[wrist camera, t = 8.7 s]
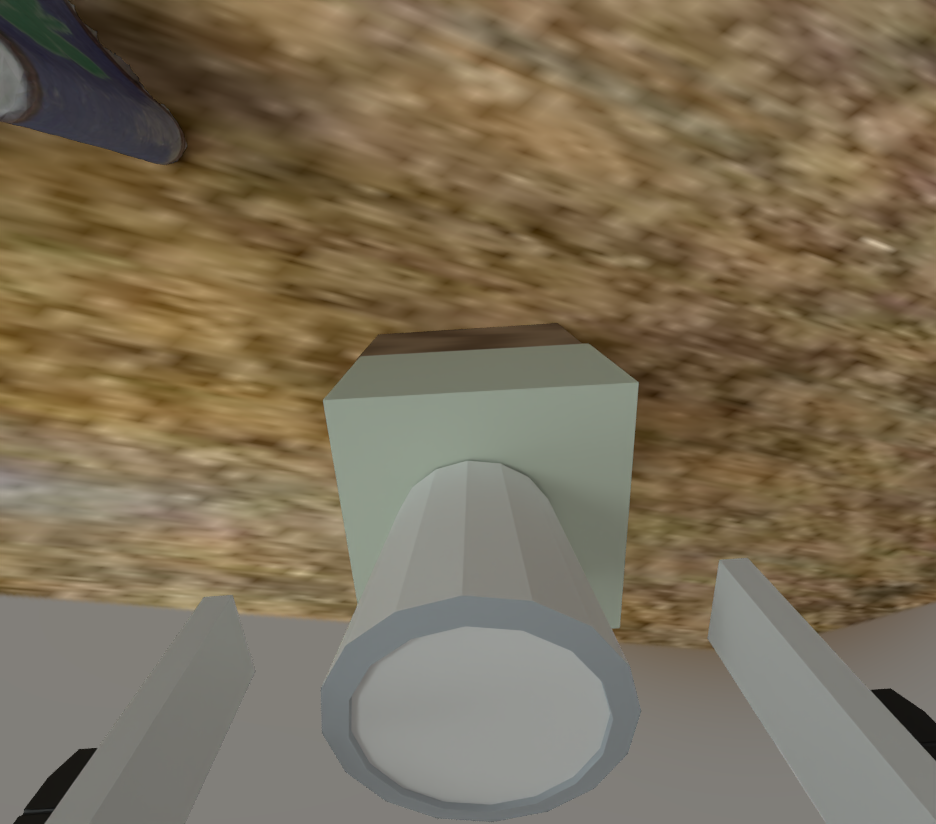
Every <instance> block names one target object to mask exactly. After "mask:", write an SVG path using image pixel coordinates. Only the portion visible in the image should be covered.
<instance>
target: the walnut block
mask: <svg viewBox="0 0 936 824" xmlns="http://www.w3.org/2000/svg"><path fill="white" fill-rule="evenodd" d="M569 344H582V343H581V342H580V341H578V340H577V339H576V338H575V337H574V336H572V335H571V334H570V333H569V332H567V331H566V330H565V329H564V328H563V327H561V326H560V325H559V324H558V323H552V324H537V325H521V326H505V327H490V328H474V329H458V330H442V331H427V332H411V333H395V334H380V335H378V336H377V337H376V338H375V339H374V340H373V341H372V342H371V344H370V345H369V346H368V347H367V348H366V349H365V351H364V352H363V353H362V354H361V355H360V356H374V355H392V354H410V353H427V352H445V351H463V350H481V349H498V348H516V347H534V346H552V345H569ZM360 356H359V357H358V359H359V358H360ZM358 359H357V360H358Z"/></svg>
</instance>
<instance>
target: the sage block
mask: <svg viewBox="0 0 936 824" xmlns="http://www.w3.org/2000/svg"><path fill="white" fill-rule="evenodd" d="M638 386H639V382H638V381H636V380H635V379H634V378H633V377H631V376H630V375H629V374H627V373H626V372H625V371H624V370H622V369H621V368H620V367H618V366H617V365H616V364H615V363H613V362H612V361H611V360H609V359H608V358H607V357H606V356H604V355H603V354H602V353H600V352H599V351H598V350H597V349H595V348H594V347H593V346H591V345H590V344H589V343H587V344H569V345H552V346H534V347H516V348H498V349H481V350H463V351H445V352H427V353H410V354H392V355H374V356H360V358H359V359H358V360H357V361H356V362H355V363H354V365H353V366H352V367H351V368H350V369H349V370H348V372H347V373H346V374H345V375H344V376H343V377H342V379H341V380H340V381H339V382H338V383H337V384H336V386H335V387H334V388H333V389H332V390H331V391H330V393H329V394H328V395H327V396H326V397H325V398H324V400H323V403H324V409H325V415H326V421H327V427H328V433H329V439H330V445H331V450H332V456H333V462H334V468H335V474H336V480H337V486H338V492H339V497H340V503H341V509H342V515H343V521H344V527H345V533H346V539H347V544H348V550H349V556H350V562H351V568H352V574H353V580H354V586H355V591H356V597H357V603H359V600H360V598H361V596H362V594H363V591H364V589H365V587H366V584H367V582H368V580H369V578H370V575H371V573H372V571H373V569H374V566H375V564H376V562H377V559H378V557H379V555H380V553H381V550H382V548H383V546H384V543H385V541H386V539H387V537H388V534H389V532H390V530H391V527H392V525H393V523H394V521H395V518H396V516H397V514H398V512H399V510H400V508H401V506H402V504H403V503H404V501H405V499H406V497H407V495H408V493H409V492H410V490H411V488H412V487H413V486H415V485H416V484H417V483H419V482H420V481H421V480H422V479H424V478H425V477H426V476H428V475H429V474H430V473H432V472H433V471H434V470H436V469H439V468H442V467H446V466H450V465H453V464H457V463H461V462H464V461H478V462H490V463H501V464H503V465H505V466H507V467H509V468H511V469H513V470H515V471H517V472H519V473H521V474H523V475H526V476H528V477H529V478H530V479H531V480H532V481H533V482H534V483H535V485H536V486H537V487H538V488H539V489H540V490H541V491H542V493H543V494H544V495H545V496H546V497H547V498H548V500H549V502H550V504H551V506H552V508H553V510H554V512H555V514H556V516H557V518H558V520H559V522H560V524H561V526H562V528H563V530H564V532H565V534H566V537H567V539H568V541H569V543H570V545H571V547H572V549H573V551H574V553H575V555H576V557H577V559H578V561H579V563H580V565H581V567H582V569H583V571H584V573H585V575H586V578H587V580H588V582H589V584H590V586H591V588H592V590H593V592H594V594H595V596H596V598H597V600H598V602H599V604H600V606H601V608H602V610H603V612H604V614H605V616H606V618H607V621H608V623H609V625H610V627H611V628H620V618H621V605H622V592H623V579H624V566H625V553H626V541H627V528H628V515H629V502H630V489H631V476H632V463H633V450H634V438H635V425H636V412H637V399H638Z"/></svg>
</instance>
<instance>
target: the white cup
mask: <svg viewBox="0 0 936 824" xmlns="http://www.w3.org/2000/svg"><path fill="white" fill-rule="evenodd" d="M321 709H322V710H321V711H322V733H323V735H324V737H325V739H326V740H327V742H328V744H329V745H330V747H331V749H332V750H333V752H334V754H335V755H336V757H337V759H338V760H339V762H340V763H341V765H342V767H343V768H344V770H345V772H346V773H348V774H349V775H350V776H352V777H353V778H355V779H356V780H357V781H359V782H360V783H362V784H363V785H364V786H366V787H367V788H369V789H370V790H371V791H373V792H374V793H375V794H377V795H378V796H379V797H381V798H382V799H384V800H385V801H387V802H390V803H393V804H396V805H399V806H402V807H405V808H408V809H411V810H414V811H417V812H420V813H423V814H426V815H429V816H432V817H435V818H441V819H456V820H472V821H488V822H494V821H500V820H506V819H511V818H516V817H522V816H527V815H532V814H538V813H543V812H548V811H550V810H552V809H554V808H556V807H557V806H560V805H562V804H564V803H566V802H568V801H570V800H572V799H574V798H576V797H578V796H580V795H582V794H584V793H586V792H588V791H590V790H592V789H594V788H595V787H596V786H597V785H598V784H599V783H600V782H601V781H602V780H603V779H604V778H605V777H606V776H607V775H608V774H609V773H610V772H611V771H612V770H613V768H614V767H615V766H616V765H617V764H618V763H619V762H620V761H621V760H622V759H623V758H624V757H625V756H626V755H627V754H628V751H629V748H630V745H631V742H632V738H633V735H634V732H635V729H636V726H637V723H638V719H639V716H640V713H641V709H640V705H639V701H638V697H637V693H636V689H635V685H634V681H633V677H632V673H631V669H630V666H629V664H628V662H627V660H626V658H625V655H624V653H623V652H622V650H621V647H620V645H619V643H618V641H617V639H616V637H615V635H614V633H613V631H612V629H611V627H610V625H609V623H608V621H607V618H606V616H605V614H604V612H603V610H602V608H601V606H600V604H599V602H598V600H597V598H596V596H595V594H594V592H593V590H592V588H591V586H590V584H589V582H588V580H587V578H586V575H585V573H584V571H583V569H582V567H581V565H580V563H579V561H578V559H577V557H576V555H575V553H574V551H573V549H572V547H571V545H570V543H569V541H568V539H567V537H566V534H565V532H564V530H563V528H562V526H561V524H560V522H559V520H558V518H557V516H556V514H555V512H554V510H553V508H552V506H551V504H550V502H549V500H548V498H547V497H546V496H545V495H544V494H543V493H542V491H541V490H540V489H539V488H538V487H537V486H536V485H535V483H534V482H533V481H532V480H531V479H530V478H529V477H528V476H526V475H523V474H521V473H519V472H517V471H515V470H513V469H511V468H509V467H507V466H505V465H503V464H501V463H490V462H478V461H464V462H461V463H457V464H453V465H450V466H446V467H442V468H439V469H436V470H434V471H433V472H432V473H430V474H429V475H428V476H426V477H425V478H424V479H422V480H421V481H420V482H419V483H417V484H416V485H415V486H413V487H412V488H411V490H410V492H409V493H408V495H407V497H406V499H405V501H404V503H403V504H402V506H401V508H400V510H399V512H398V514H397V516H396V518H395V521H394V523H393V525H392V527H391V530H390V532H389V534H388V537H387V539H386V541H385V543H384V546H383V548H382V550H381V553H380V555H379V557H378V559H377V562H376V564H375V566H374V569H373V571H372V573H371V575H370V578H369V580H368V582H367V584H366V587H365V589H364V591H363V594H362V596H361V598H360V600H359V603H358V605H357V607H356V610H355V612H354V614H353V616H352V619H351V621H350V623H349V626H348V628H347V630H346V632H345V635H344V637H343V640H342V642H341V644H340V646H339V648H338V651H337V653H336V656H335V658H334V660H333V662H332V665H331V667H330V669H329V671H328V674H327V676H326V678H325V680H324V683H323V685H322V687H321Z"/></svg>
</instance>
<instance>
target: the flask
mask: <svg viewBox="0 0 936 824" xmlns="http://www.w3.org/2000/svg"><path fill="white" fill-rule="evenodd" d="M74 7H75V6H74V5H72V4H71V3H70V2H69V1H68V0H0V121H1V122H5V123H9V124H13V125H18V126H23V127H27V128H31V129H34V130H37V131H41V132H45V133H48V134H52V135H58V136H61V137H64V138H67V139H71V140H74V141H78V142H82V143H86V144H90V145H94V146H98V147H102V148H105V149H109V150H113V151H115V152H118V153H121V154H125V155H128V156H131V157H135V158H138V159H143V160H145V161H148V162H152V163H156V164H162V165H167V164H170V163H174V162H176V161H178V159H180V157H182V154H183V152H184V150H185V149H186V147H187V143H186V140H185V137H184V134H183V132H182V130H181V128H180V127H179V125H178V123H177V121H176V120H175V119H174V118H173V116H172V114H171V113H170V111H169V109H168V108H166V106H165V105H164V104H161V105H160V104H159V103H158V102H157V101H155V100H154V99H153V98H152V96H151V95H150V94H149V93H148V92H147V90H145V89H144V87H143V85H142V84H140V82H139V78H138V77H137V76H136V74H134V73H133V72H132V70H131V69H130V65H128V64H126V63H125V62H124V61H123V60H122V58H121V57H120V56H117V55H116V53H114V54H113V53H112V52H111V51H109V50H108V49H106V48H104V47H103V46H102V44H100V42H99V41H98V39H97V31H93V30H92V28H89V27H88V26H87V25H86V24H84V23H83V22H82V21H81V19H80V18H79V17H78V15H77V13H76V11H75V9H74Z"/></svg>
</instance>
